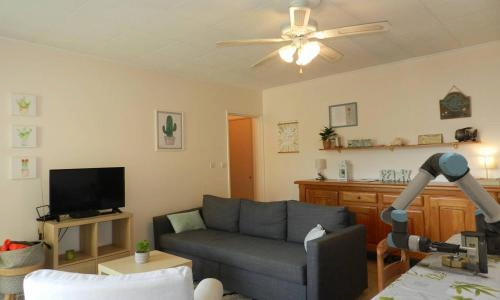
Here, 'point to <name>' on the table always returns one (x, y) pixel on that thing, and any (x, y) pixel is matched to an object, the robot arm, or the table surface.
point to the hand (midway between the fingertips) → (476, 252)
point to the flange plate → (464, 271)
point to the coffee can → (472, 242)
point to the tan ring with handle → (466, 260)
